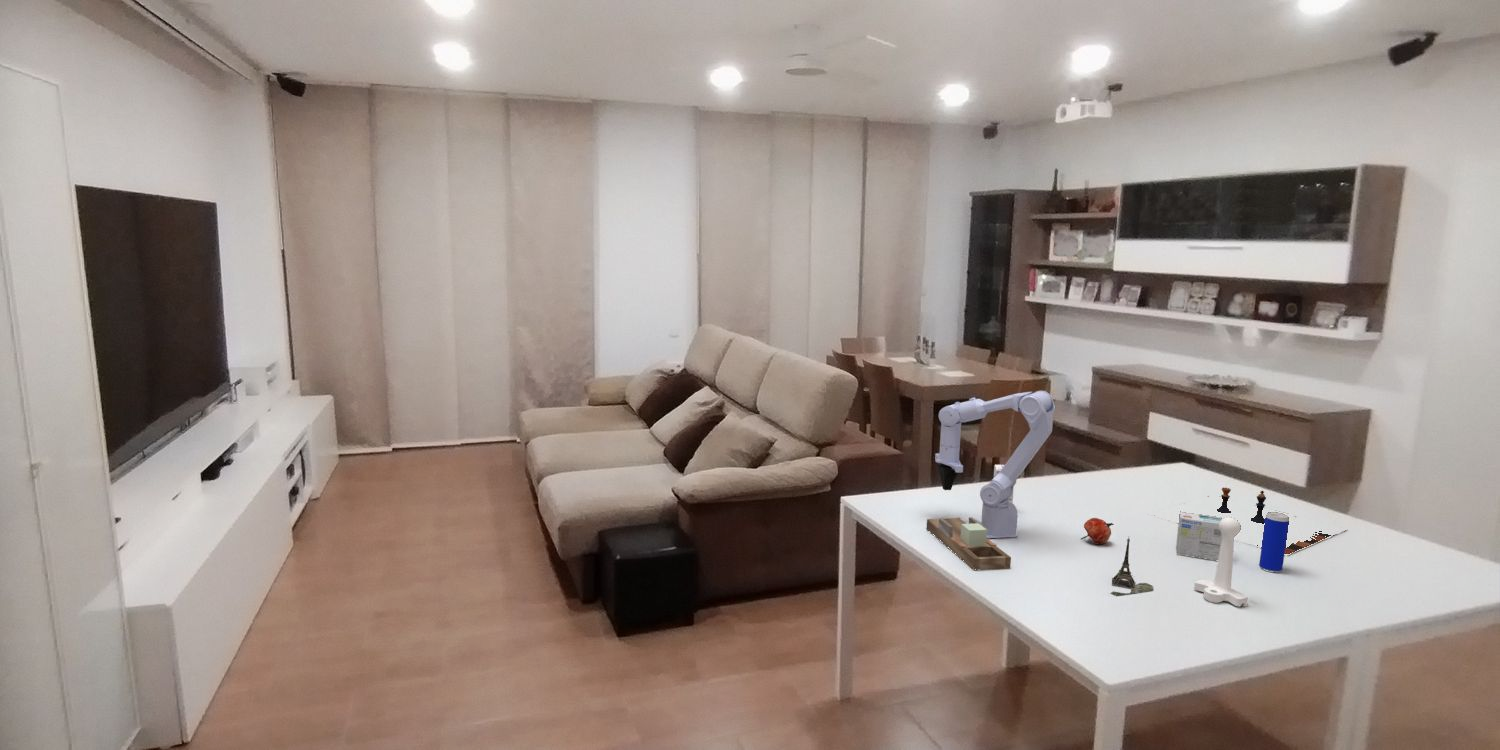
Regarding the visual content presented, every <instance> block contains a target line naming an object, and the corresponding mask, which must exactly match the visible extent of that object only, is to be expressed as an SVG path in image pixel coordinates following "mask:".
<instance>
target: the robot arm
mask: <svg viewBox="0 0 1500 750" xmlns="http://www.w3.org/2000/svg"><path fill="white" fill-rule="evenodd" d="M1007 409H1012V410H1013V411H1015V412H1020V413H1021V414H1022V416H1023V417H1024V418H1025V421H1026V422H1027V424H1028V426H1029V429H1030V430H1029V431H1028V433H1027V434H1026V435H1025V437H1024V438H1023V439H1022V441H1021V442H1020V443H1019V445H1018V446H1017V448H1016V449H1014V452H1013V453H1012V454H1011V456H1010V457H1009V458H1008V460H1007V461H1006V463H1005V464H1004V465H1005V466H1004V467H1003V468H1002V470H1001V471H1000V472H999V473H998V474H997V475H996V476H995V477H994V476H993V478H992V479H991V480H990V482H989V483H987V484H985V485H983V486H982V487H981V489H980V491H979V497H980V499H981V501H982V507H981V509H982V510H981V521H980V523H981V524H982V525H984V528H986V529H987V538H988V539H1003V538H1017V537H1018V534H1017V528H1018V527H1017V526H1018V518H1019V517H1018V516H1019V515H1018V510H1017V507H1016V505H1015V504H1014V503H1013V504H1012V503H1009V501H1008V498H1009V497H1010V496H1011V495H1012V493H1013V494H1014V488H1013V487H1015V485H1016V484H1017V480H1018V479H1019V478H1020V475H1022V473H1023V472H1024V471H1025V469H1026V467H1028V465H1029V464H1030V462H1031V461H1033V458H1035V456H1036V454H1037V453H1038V451H1039V450H1041V447H1042V446H1044V443H1045V442H1046V441H1047V439H1048V438H1049V436H1050V435H1051V434H1052V433H1053V426H1054V425H1053V424H1054V413H1055V409H1056V406H1055V402H1054V399H1053V397H1052V395H1051V394H1050V393H1049V392H1047V391H1045V390H1037V391H1034V392H1033V391H1025V392H1018V393H1013V394H1009V395H1006V396H1002V397H998V398H995V399H994V398H993V399H992V400H987V401H985V400H983V399H981V398H976V397H975V396H974V397H971V398H969V400H966V401H963V402H960V401H956V402H954V403H953V404H951V405H946V406H944V407H942V408H941V409H940V410H939V412H938V419H939V421H940V424H941V425H940V439H939V452H937V453H935V454H934V455H935V457H934V459H935V460H934V461H935V463H937V465H936V468H937V470H938V472H939V475H940V480H941V488H942V490H944V491H952V487H953V485H954V483H955V480H956V477H957V475H958V474H960V473H964V465H963V464H962V463H961V461H960V451H961V447H960V446H961V437H962V436H961V431H962V423H967V422H968V423H969V422H972V421H976V420H980V419H985V417H986V416H987V414H988V413H992V412H996V411H1001V410H1003V411H1004V410H1007Z"/></svg>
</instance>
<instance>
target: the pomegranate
mask: <svg viewBox="0 0 1500 750" xmlns="http://www.w3.org/2000/svg"><path fill="white" fill-rule="evenodd" d="M1114 525H1115V524H1114V523H1113V522H1111V523H1110V522H1109V523H1107V522H1106V520H1104V519H1102V518H1101V519H1100V518H1098V517H1092V518H1089V519H1087V520H1086V521H1085V522H1084V524H1083V528H1084V530H1085V531H1086V533H1087V535H1085V536H1083V537H1081V538H1080V540H1082V539H1086V538H1088V537H1089V539H1091V540H1092V542H1093V544H1096V545H1101V544H1105V543H1107V541H1109V540H1110V537H1111V535H1112V531H1111V528H1110V527H1111V526H1114Z"/></svg>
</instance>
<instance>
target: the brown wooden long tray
mask: <svg viewBox="0 0 1500 750" xmlns="http://www.w3.org/2000/svg"><path fill="white" fill-rule="evenodd" d="M974 523H979V524H980V525H982V524H981V521H980V522H979V521H978V520H977V519H976V518H974V517H973V516H969V517H968V523H967V522H965V521H964V520H963V519H961V518H960V517H949V518H944V517H941V518H927V519H926V530H927V531H928V532H929V531H930V532H931V533H930V532H929V533H930V534H932V535H933V534H934V535H935V536H936V537H937V538H938V539H937V538H936V537H935V536H934V535H933V536H934V537H935V538H936V539H937V540H939V539H940V540H941V541H942V542H943V543H944V544H945V545H946V546H945V545H944V544H943V543H942V542H941V541H940V540H939V541H940V542H941V543H942V544H943V545H944V546H945V547H946V548H948V547H949V548H950V549H951V550H952V551H953V552H954V553H953V552H952V551H951V550H950V549H949V548H948V549H949V550H950V551H951V552H952V553H953V554H955V553H956V554H957V555H958V556H959V557H960V558H961V560H962V559H963V560H964V561H965V562H966V563H967V564H968V565H969V566H968V565H967V564H966V563H965V562H964V561H963V560H962V561H963V562H964V563H965V564H966V565H967V566H968V567H970V568H971V567H972V568H973V569H974V570H973V569H972V568H971V569H972V570H973V571H979V570H978V569H992V570H1005V569H1006V570H1007V569H1011V564H1012V557H1011V556H1010V555H1009V554H1007V552H1004V551H1003V550H1002V549H1001V548H999V547H998V546H997V544H996V543H994V541H992V540H990V538H987V539H986V546H972V547H968V546H967V545H966V544H965V543H963V542H962V541H961V540H960V536H961V524H974ZM982 526H983V527H984V525H982ZM956 554H955V555H956ZM957 555H956V556H957ZM958 556H957V557H958ZM959 557H958V558H959ZM960 558H959V559H960ZM975 569H977V570H975Z"/></svg>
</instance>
